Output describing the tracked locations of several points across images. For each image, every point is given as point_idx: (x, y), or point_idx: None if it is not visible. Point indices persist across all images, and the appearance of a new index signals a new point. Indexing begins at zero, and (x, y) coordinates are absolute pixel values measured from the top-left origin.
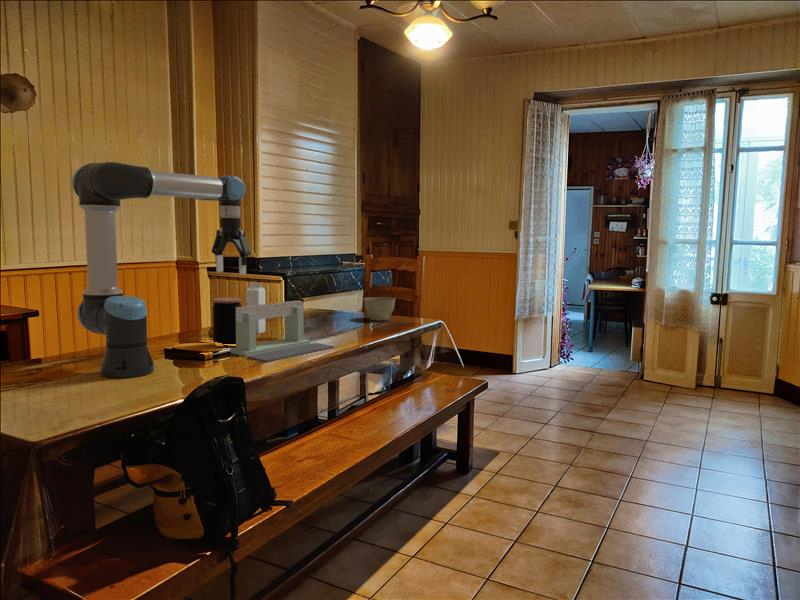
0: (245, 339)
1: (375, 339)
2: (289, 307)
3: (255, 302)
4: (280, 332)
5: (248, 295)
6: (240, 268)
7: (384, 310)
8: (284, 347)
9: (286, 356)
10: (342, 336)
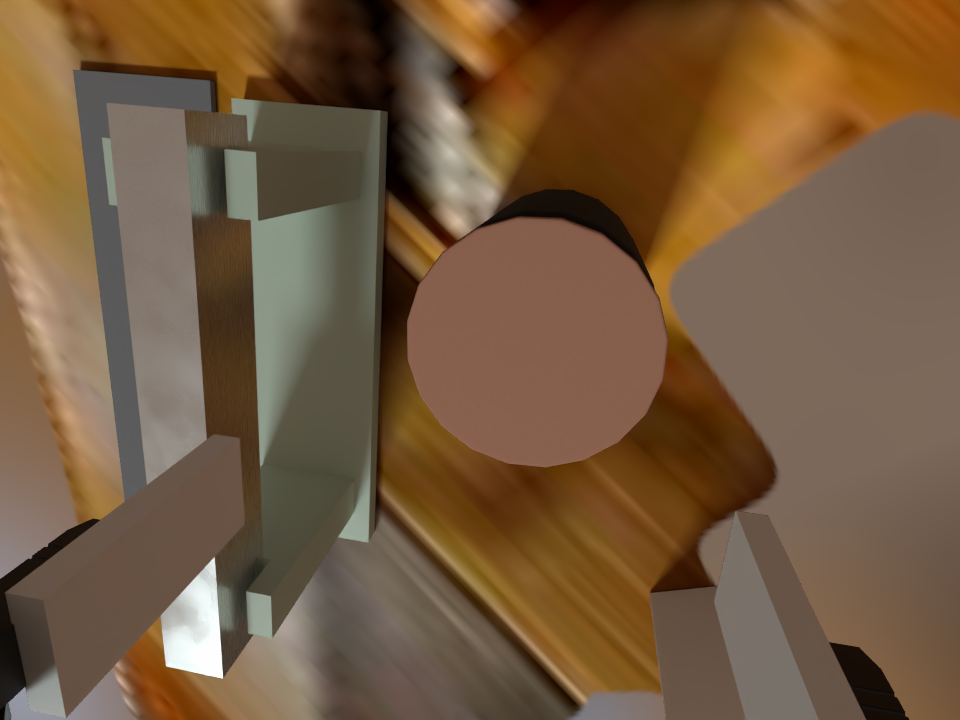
0: (252, 143)
1: (147, 711)
2: None
3: None
4: (580, 669)
5: None
6: (163, 474)
7: None
8: None
9: (90, 205)
10: (285, 709)
